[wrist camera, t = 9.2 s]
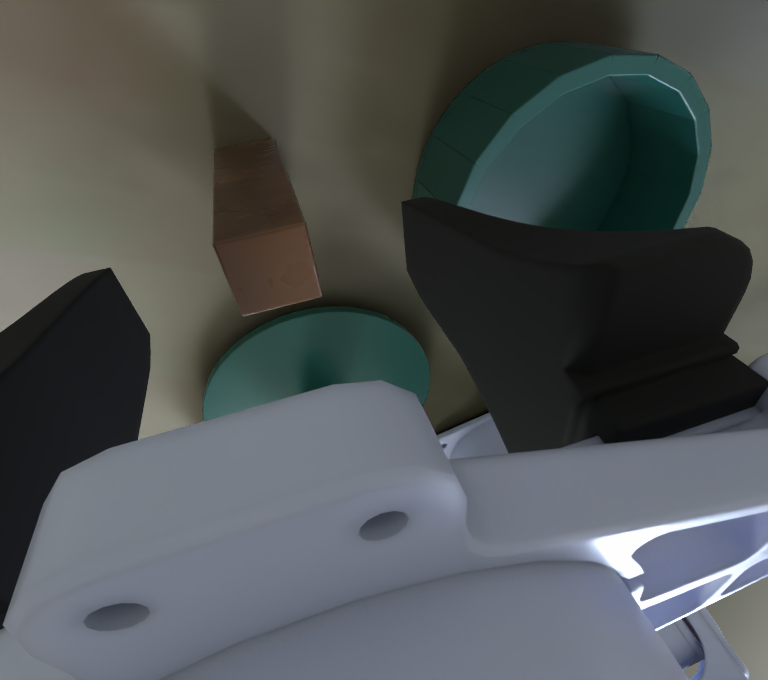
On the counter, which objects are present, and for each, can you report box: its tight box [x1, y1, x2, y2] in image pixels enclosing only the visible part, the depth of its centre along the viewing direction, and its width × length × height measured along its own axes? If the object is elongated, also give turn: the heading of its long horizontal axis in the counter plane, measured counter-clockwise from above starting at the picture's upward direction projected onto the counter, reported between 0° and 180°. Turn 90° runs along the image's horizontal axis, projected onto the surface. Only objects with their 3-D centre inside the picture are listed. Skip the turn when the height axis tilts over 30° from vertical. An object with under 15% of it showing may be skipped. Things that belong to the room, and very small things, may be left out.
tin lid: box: [202, 306, 430, 421], centre depth 23 cm, size 12×12×4 cm
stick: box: [213, 138, 323, 316], centre depth 14 cm, size 2×2×8 cm
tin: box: [413, 42, 712, 232], centre depth 19 cm, size 11×11×4 cm
